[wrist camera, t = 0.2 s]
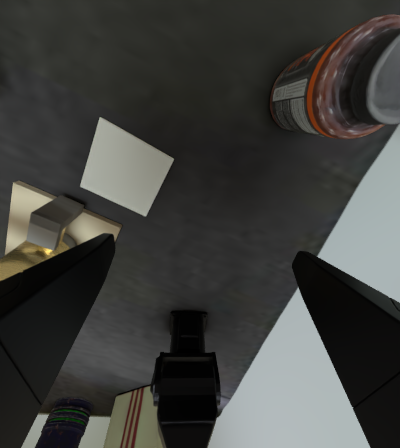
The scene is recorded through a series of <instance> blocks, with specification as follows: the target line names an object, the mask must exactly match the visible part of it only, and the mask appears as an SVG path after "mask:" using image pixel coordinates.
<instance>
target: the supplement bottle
mask: <svg viewBox="0 0 400 448" xmlns="http://www.w3.org/2000/svg"><path fill="white" fill-rule="evenodd" d="M270 110H271V114H272V117H273V119H274V121H275V122H276V123H277V124H278V125H279V126H280V127H281V128H283V129H286V130H289V131H293V132H299V133H305V134H311V135H318V136H324V137H331V138H338V139H352V138H358V137H362V136H365V135H367V134H370V133H372V132H374V131H376V130H378V129H380V128H381V127H382V126H384V125H392V124H399V123H400V15H393V14H392V15H383V16H379V17H374V18H372V19H370V20H368V21H365V22H363V23H361V24H359V25H357V26H356V27H354V28H352V29H351V30H348V31H346V32H344V33H343V34H341V35H339V36H337V37H335V38H333V39H332V40H330V41H328V42H327V43H325V44H323V45H321V46H320V47H318V48H316V49H314V50H312V51H310V52H309V53H307V54H305V55H303V56H301V57H300V58H298V59H296V60H294V61H293V62H292V63H291V64H289V65H288V66H287V67H286V68H285V69H284V70H283V71H282V72H281V74H280V75H279V76H278V78H277V80H276V81H275V83H274V86H273V88H272V92H271V96H270Z"/></svg>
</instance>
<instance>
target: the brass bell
mask: <svg viewBox="0 0 400 448" xmlns="http://www.w3.org/2000/svg"><path fill="white" fill-rule="evenodd" d="M65 229H66V227H65V228H64V229H63V230H62V234H61V238H60V241H59V245H58V247H57V248H56V249H55V250H54V251H53V250H50V249H47V248H45V247H42V246H39V245H36V244H33V243H31V242H28V241H26V240H25V241H24V242H23V243H21V244H20V245H18V246H17V247H16V248H14V249H13V250H12V251H10V252H9V253H8V254H6V255H5V256H4V257H2V258H1V259H0V281H1V280H4V279H6V278H8V277H10V276H12V275H14V274H17V273H19V272H22V271H23V270H25V269H27V268H30V267H32V266H34V265H36V264H38V263H40V262H42V261H45V260H47V259H49V258H51V257H53V256H55V255H57V254H60V253H62V252H64V251H66V250H68V249H70V248H69V247H68V246H67V245H66V244H65V243H64V242H62V240H63V236H64V233H65Z"/></svg>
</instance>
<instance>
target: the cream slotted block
mask: <svg viewBox="0 0 400 448" xmlns="http://www.w3.org/2000/svg"><path fill="white" fill-rule="evenodd" d="M65 227H66V229H65V233H64V236H63V240H62V242H64V243H65V244H66V245H67V246H68V247H69V248H72V247H75V246H77V245H79V244H81V243H83V242H85V241H87V240H90V239H92V238H94V237H96V236H98V235H100V234H102V233H111V234H113V235H114V239H115V241H116V239H117V237H118V234H119V232H120V230H121V228H122V225H121V224H119V223H117V222H114V221H112V220H110V219H107V218H105V217H103V216H100V215H98V214H96V213H93V212H91V211H89V210H86V209H84V205H83V204H80V203H78V202H76V201H73V200H71V199H69V198H66V197H64V196H62V195H60V196H58V197H56V196H54V195H51V194H49V193H47V192H44V191H42V190H40V189H37V188H35V187H33V186H31V185H28V184H26V183H24V182H21V181H16V182H14V183H13V189H12V198H11V207H10V215H9V224H8V233H7V242H6V251H5V255H6V254H8V253H9V252H10V251H12V250H13V249H14V248H16V247H17V246H18V245H20V244H21V243H23V242H24V241H25V240H26V241H28V242H31V243H33V244H36V245H39V246H42V247H45V248H47V249H50V250H53V251H54V250H55V249H56V248H57V247H58V245H59V241H60V238H61V234H62V230H63V229H64V228H65Z"/></svg>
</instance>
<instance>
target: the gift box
mask: <svg viewBox="0 0 400 448" xmlns="http://www.w3.org/2000/svg"><path fill="white" fill-rule="evenodd" d="M150 386H151V385H150ZM150 386H147V387H143V388H140V389H137V390H134V391H131V392H128V393H124V394H121V395H118V396H117V397H116V400H115V404H114V408H113V411H112V415H111V419H110V423H109V427H108V431H107V435H106V439H105V443H104V448H163V446H162V443H161V439H160V436H159V433H158V425H157V407H154V406H153V400H154V399H153V395H152V394H151V392H150Z"/></svg>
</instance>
